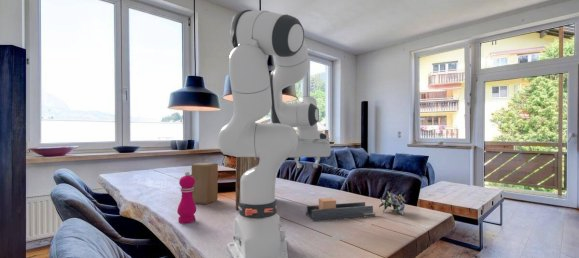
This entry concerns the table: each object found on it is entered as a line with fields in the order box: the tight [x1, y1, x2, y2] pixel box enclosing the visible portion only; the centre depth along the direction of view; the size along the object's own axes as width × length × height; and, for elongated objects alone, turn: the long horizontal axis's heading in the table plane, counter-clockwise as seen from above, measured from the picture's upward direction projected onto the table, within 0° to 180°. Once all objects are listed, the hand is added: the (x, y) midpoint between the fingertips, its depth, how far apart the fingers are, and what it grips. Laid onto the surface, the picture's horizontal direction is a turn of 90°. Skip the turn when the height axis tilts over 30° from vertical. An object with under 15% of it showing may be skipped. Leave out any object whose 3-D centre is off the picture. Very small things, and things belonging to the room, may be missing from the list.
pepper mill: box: [177, 171, 197, 224], centre depth 107 cm, size 7×7×20 cm
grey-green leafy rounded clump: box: [378, 191, 407, 216], centre depth 118 cm, size 11×11×12 cm
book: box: [235, 157, 260, 211], centre depth 134 cm, size 25×9×30 cm, turn 166°
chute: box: [305, 201, 376, 222], centre depth 115 cm, size 28×10×4 cm, turn 104°
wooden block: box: [191, 162, 219, 205], centre depth 137 cm, size 10×10×20 cm
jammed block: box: [318, 197, 337, 209], centre depth 114 cm, size 6×5×6 cm
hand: (307, 167), depth 112 cm, fingers open, 6 cm apart
